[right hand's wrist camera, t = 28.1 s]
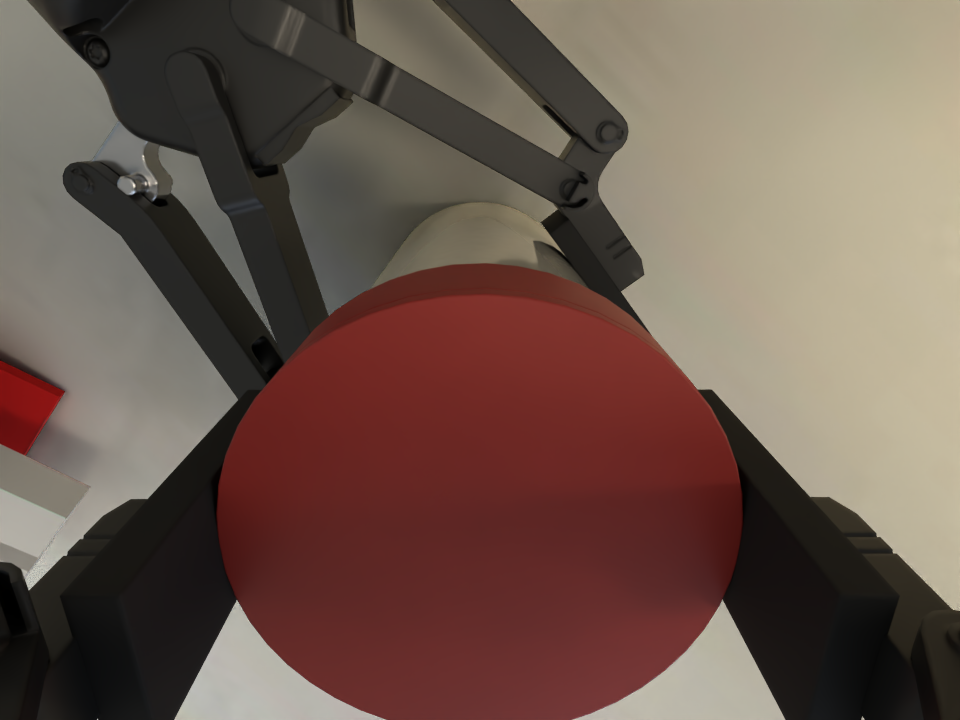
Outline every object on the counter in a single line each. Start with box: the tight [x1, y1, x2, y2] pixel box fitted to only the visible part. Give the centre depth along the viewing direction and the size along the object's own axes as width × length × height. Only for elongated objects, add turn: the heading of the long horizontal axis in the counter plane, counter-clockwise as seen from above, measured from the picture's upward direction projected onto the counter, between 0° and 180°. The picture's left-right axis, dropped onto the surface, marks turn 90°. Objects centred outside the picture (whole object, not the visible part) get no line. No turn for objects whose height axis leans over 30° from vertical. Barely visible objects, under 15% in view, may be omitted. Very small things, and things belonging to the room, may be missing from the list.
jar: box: [370, 202, 589, 289], centre depth 19 cm, size 8×8×17 cm
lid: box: [216, 263, 743, 720], centre depth 12 cm, size 9×9×2 cm
